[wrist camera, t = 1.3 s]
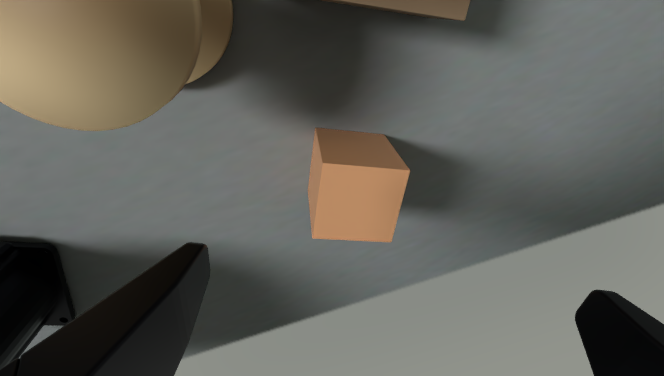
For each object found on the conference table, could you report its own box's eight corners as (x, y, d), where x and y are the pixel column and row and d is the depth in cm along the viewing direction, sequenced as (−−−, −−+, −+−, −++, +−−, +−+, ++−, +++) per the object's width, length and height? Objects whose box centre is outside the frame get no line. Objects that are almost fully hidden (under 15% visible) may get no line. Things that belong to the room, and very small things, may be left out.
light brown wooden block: (370, 194, 22) (391, 242, 17) (307, 189, 21) (312, 238, 17) (383, 134, 20) (410, 170, 16) (315, 127, 19) (322, 162, 15)
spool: (232, 91, 18) (198, 140, 11) (84, 74, 17) (-49, 118, 10) (234, -74, 15) (187, -139, 8) (52, -108, 14) (-172, -215, 7)
